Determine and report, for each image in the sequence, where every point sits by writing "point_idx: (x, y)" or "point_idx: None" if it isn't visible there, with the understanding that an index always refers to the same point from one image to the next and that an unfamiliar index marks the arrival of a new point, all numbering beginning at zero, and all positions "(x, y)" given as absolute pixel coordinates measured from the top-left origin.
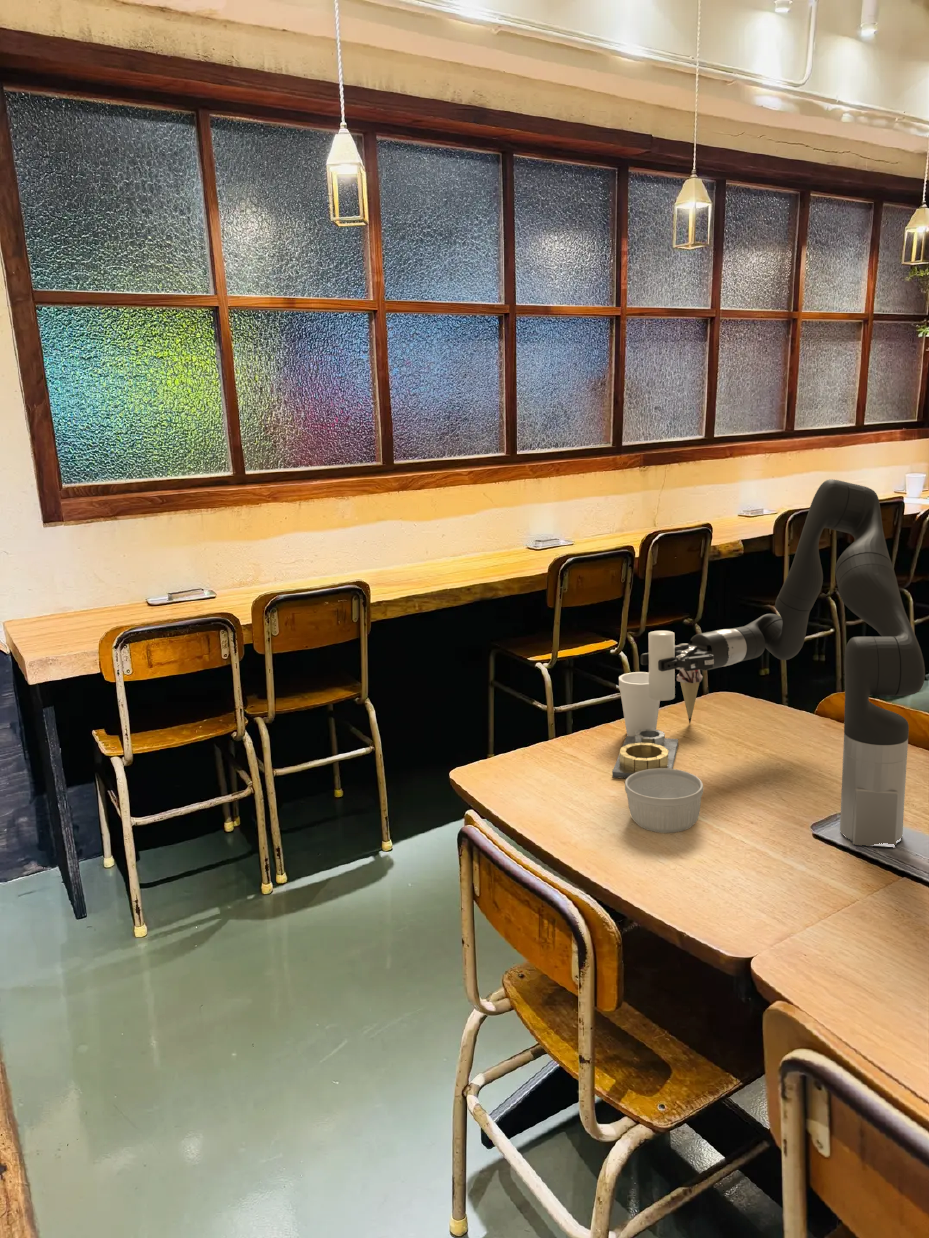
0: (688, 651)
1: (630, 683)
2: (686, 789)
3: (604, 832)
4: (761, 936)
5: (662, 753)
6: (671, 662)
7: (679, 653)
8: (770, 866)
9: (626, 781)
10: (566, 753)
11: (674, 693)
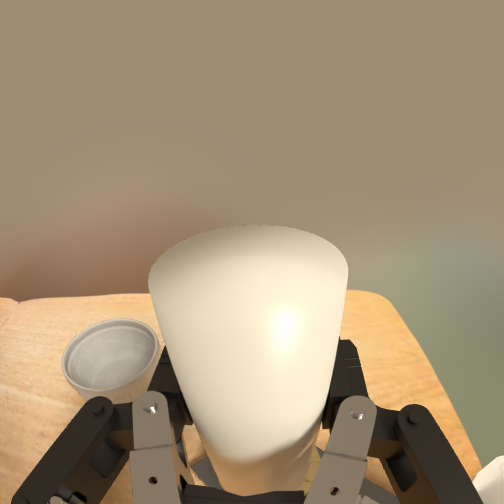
0: (133, 471)
1: (481, 472)
2: None
3: (158, 332)
4: (15, 315)
5: None
6: (158, 365)
7: (240, 497)
8: (14, 374)
9: (149, 328)
10: (398, 403)
11: (221, 483)
